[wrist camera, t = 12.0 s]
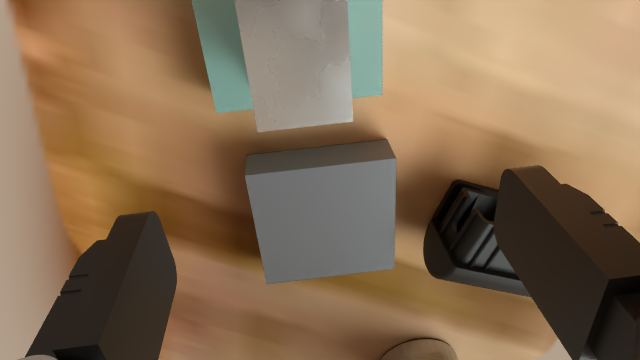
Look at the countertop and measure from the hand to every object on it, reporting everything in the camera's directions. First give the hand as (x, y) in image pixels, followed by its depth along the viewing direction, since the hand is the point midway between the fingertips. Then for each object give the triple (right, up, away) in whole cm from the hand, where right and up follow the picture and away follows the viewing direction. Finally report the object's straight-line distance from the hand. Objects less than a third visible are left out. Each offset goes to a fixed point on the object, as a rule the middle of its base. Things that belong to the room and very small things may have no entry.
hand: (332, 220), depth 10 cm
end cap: (+14, -3, +30) cm, 33 cm away
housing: (-2, +10, +16) cm, 19 cm away
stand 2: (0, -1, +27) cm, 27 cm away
